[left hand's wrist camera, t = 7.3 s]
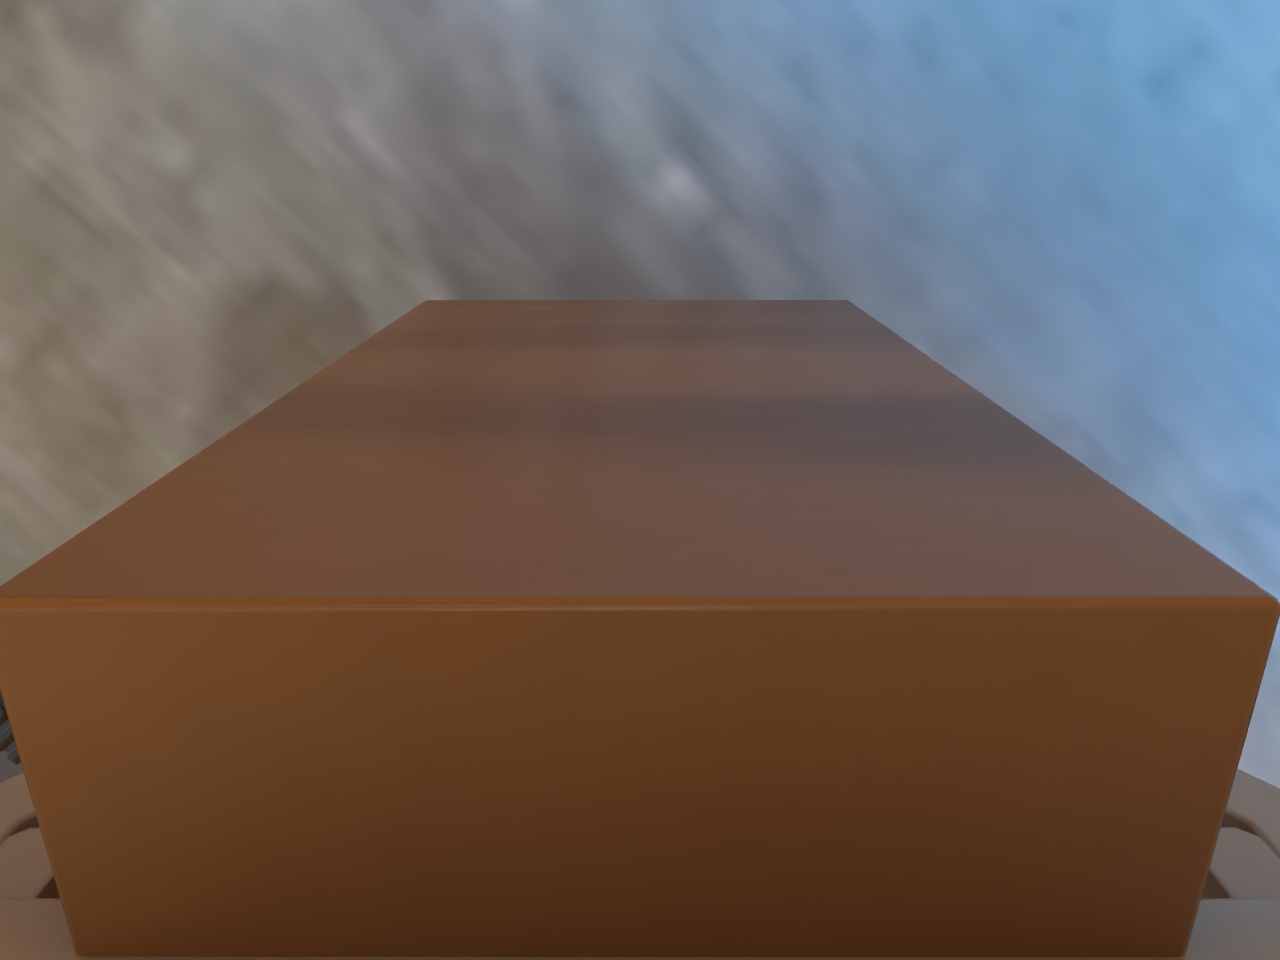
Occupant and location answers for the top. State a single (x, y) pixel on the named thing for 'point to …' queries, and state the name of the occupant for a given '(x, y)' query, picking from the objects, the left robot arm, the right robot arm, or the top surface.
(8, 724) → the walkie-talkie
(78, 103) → the top surface
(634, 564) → the bar
